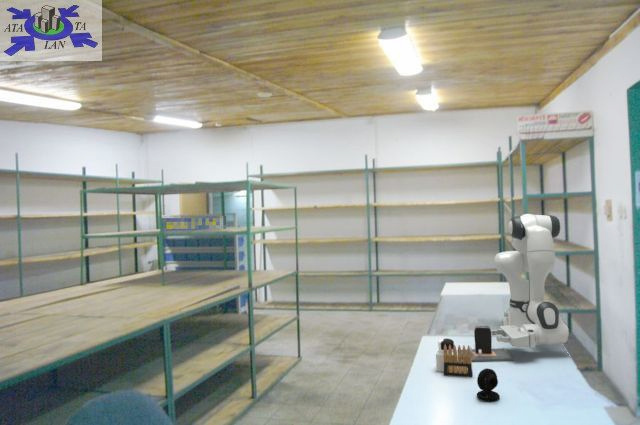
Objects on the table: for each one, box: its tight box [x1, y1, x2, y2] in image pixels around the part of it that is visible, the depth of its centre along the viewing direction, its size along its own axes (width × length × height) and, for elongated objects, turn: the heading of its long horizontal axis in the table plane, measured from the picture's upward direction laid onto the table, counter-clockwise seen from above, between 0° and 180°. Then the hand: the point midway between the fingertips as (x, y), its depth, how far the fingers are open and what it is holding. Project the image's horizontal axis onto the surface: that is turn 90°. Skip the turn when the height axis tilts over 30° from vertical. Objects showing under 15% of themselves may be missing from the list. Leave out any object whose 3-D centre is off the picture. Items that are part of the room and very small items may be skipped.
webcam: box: [476, 368, 500, 403], centre depth 172 cm, size 8×8×10 cm
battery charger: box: [473, 325, 493, 354], centre depth 217 cm, size 7×4×11 cm, turn 73°
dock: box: [456, 346, 514, 363], centre depth 215 cm, size 14×20×4 cm
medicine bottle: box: [435, 338, 458, 373], centre depth 202 cm, size 7×7×12 cm
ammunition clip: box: [443, 344, 474, 378], centre depth 195 cm, size 11×2×12 cm, turn 70°
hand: (494, 335), depth 215 cm, fingers open, 8 cm apart
